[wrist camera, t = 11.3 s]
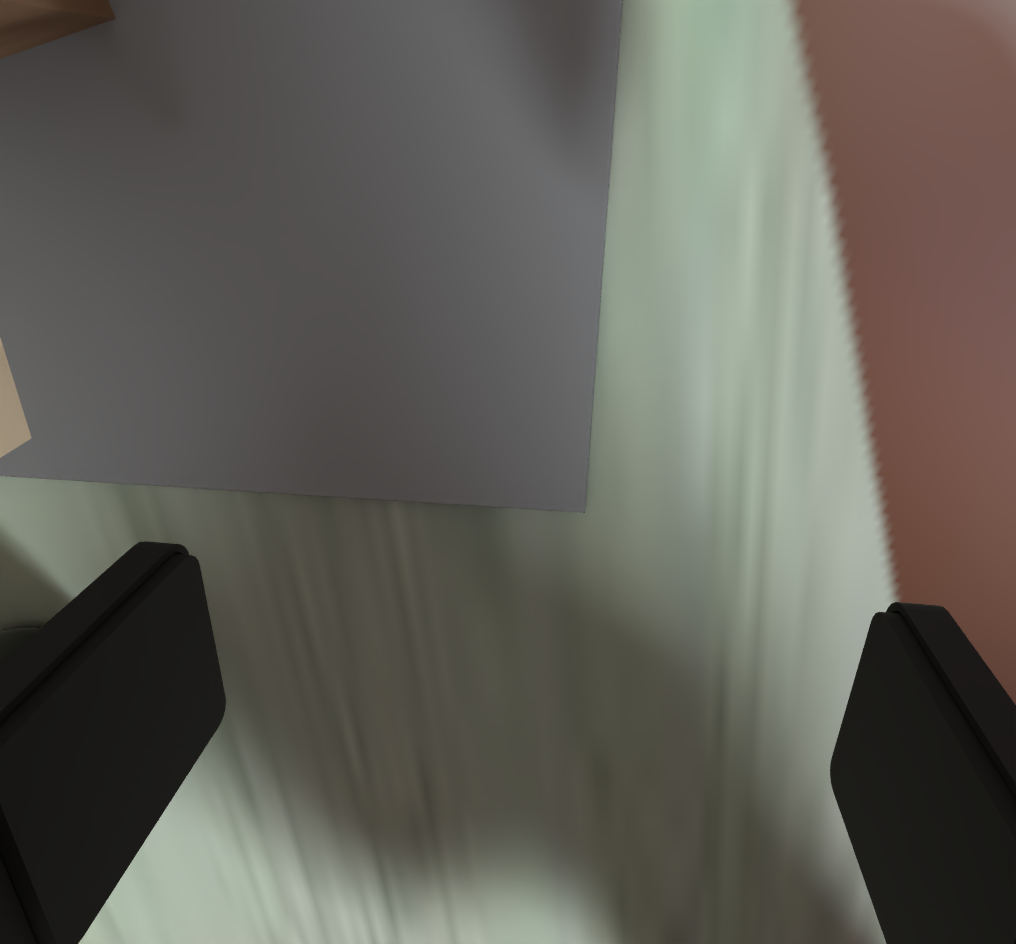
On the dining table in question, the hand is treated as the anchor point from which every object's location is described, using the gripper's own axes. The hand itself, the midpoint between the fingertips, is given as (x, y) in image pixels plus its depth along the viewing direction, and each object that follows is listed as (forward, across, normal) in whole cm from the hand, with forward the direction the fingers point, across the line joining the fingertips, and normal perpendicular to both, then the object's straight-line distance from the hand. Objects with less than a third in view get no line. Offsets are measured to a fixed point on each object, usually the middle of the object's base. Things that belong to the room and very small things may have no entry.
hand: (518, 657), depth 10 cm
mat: (+9, +11, -5) cm, 15 cm away
